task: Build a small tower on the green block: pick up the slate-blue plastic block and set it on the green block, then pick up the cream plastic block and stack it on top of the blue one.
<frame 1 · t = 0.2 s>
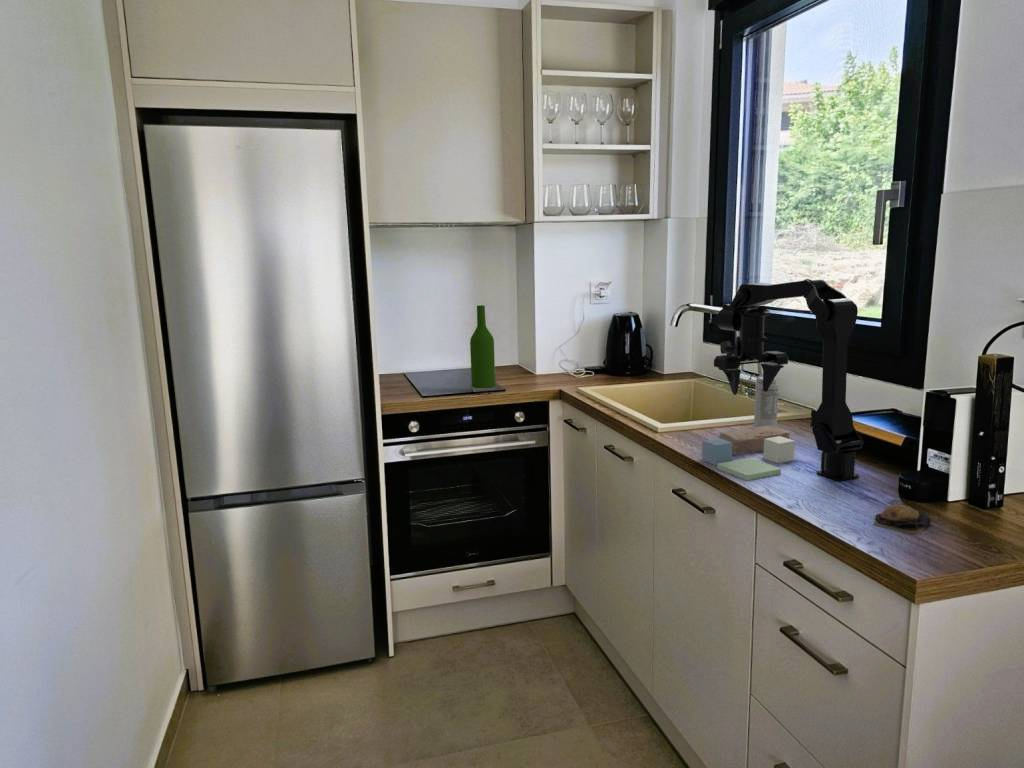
hand: (750, 393, 182), 14 cm above the worktop, tool pointing down, fingers open, 9 cm apart
cream block: (778, 459, 173), on the worktop
wine bottle: (483, 392, 265), on the worktop
blue block: (716, 461, 173), on the worktop
green block: (748, 471, 165), on the worktop
energy drink can: (764, 430, 201), on the worktop
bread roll: (902, 525, 133), on the worktop
brick: (753, 449, 184), on the worktop
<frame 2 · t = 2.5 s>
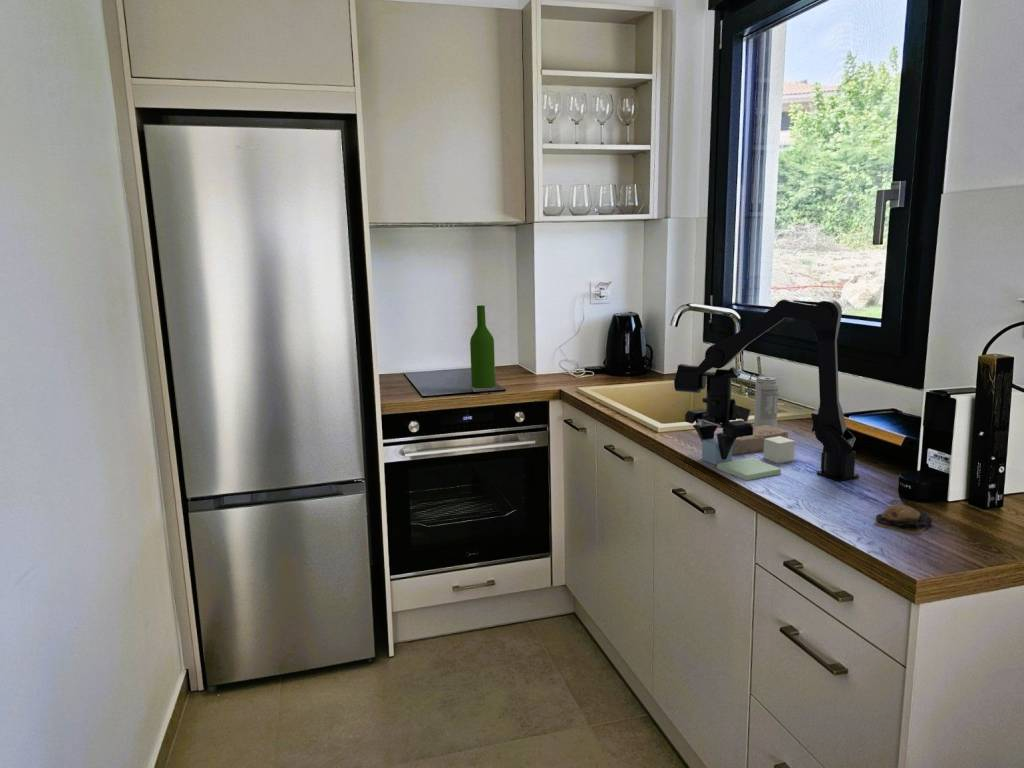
hand: (716, 456, 173), 1 cm above the worktop, tool pointing down, fingers closed on blue block, 5 cm apart
blue block: (716, 460, 173), on the worktop, touching gripper
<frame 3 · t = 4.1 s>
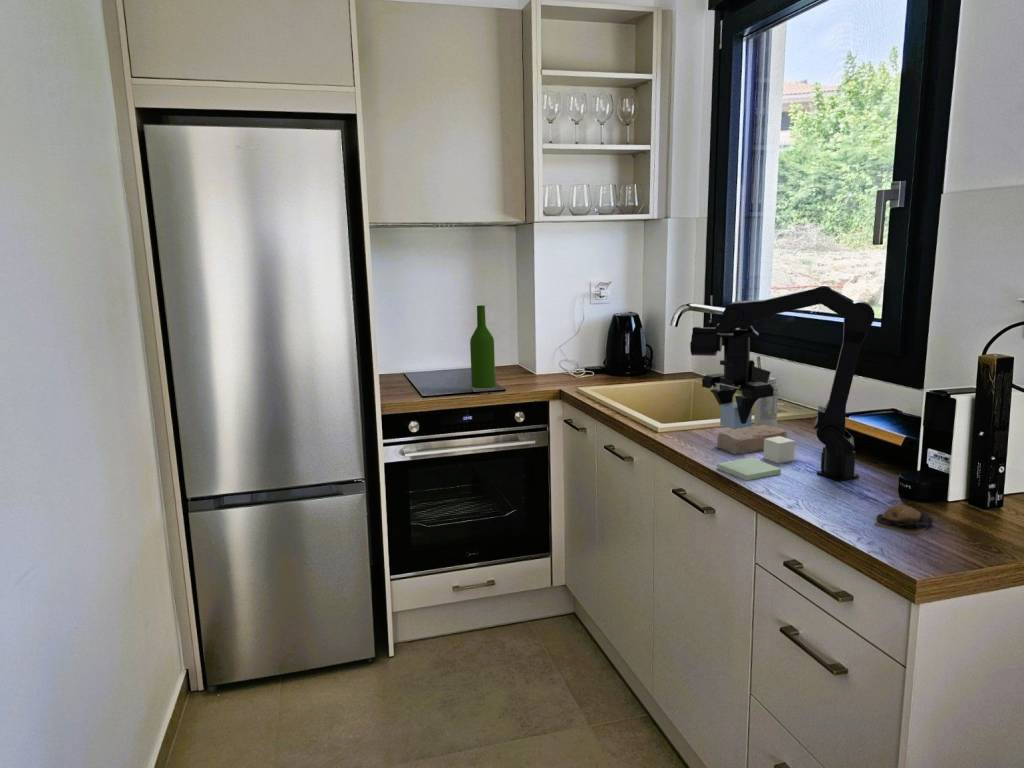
hand: (736, 421, 167), 11 cm above the worktop, tool pointing down, fingers closed on blue block, 5 cm apart
blue block: (735, 425, 167), point 10 cm above the worktop, touching gripper
everything else where it was.
when the fingers open (3 cm above the worktop, at t = 6.0 s): blue block drops 1 cm, resting on green block.
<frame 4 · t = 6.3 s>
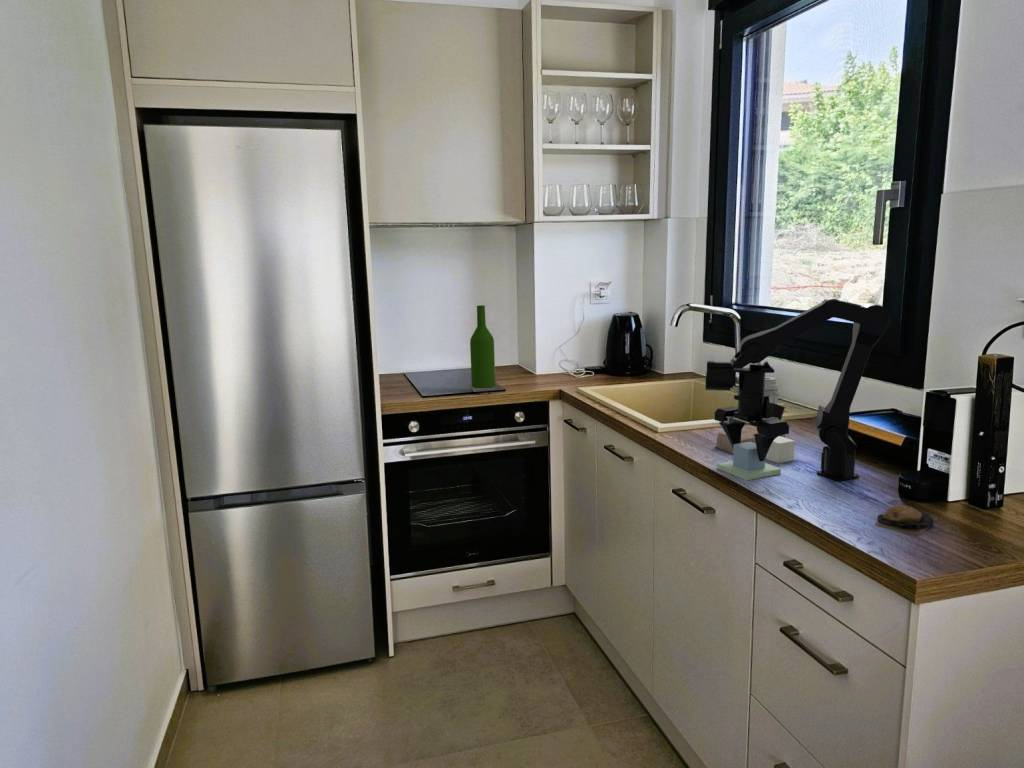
hand: (749, 456, 164), 3 cm above the worktop, tool pointing down, fingers open, 8 cm apart
blue block: (748, 466, 164), point 1 cm above the worktop, touching green block
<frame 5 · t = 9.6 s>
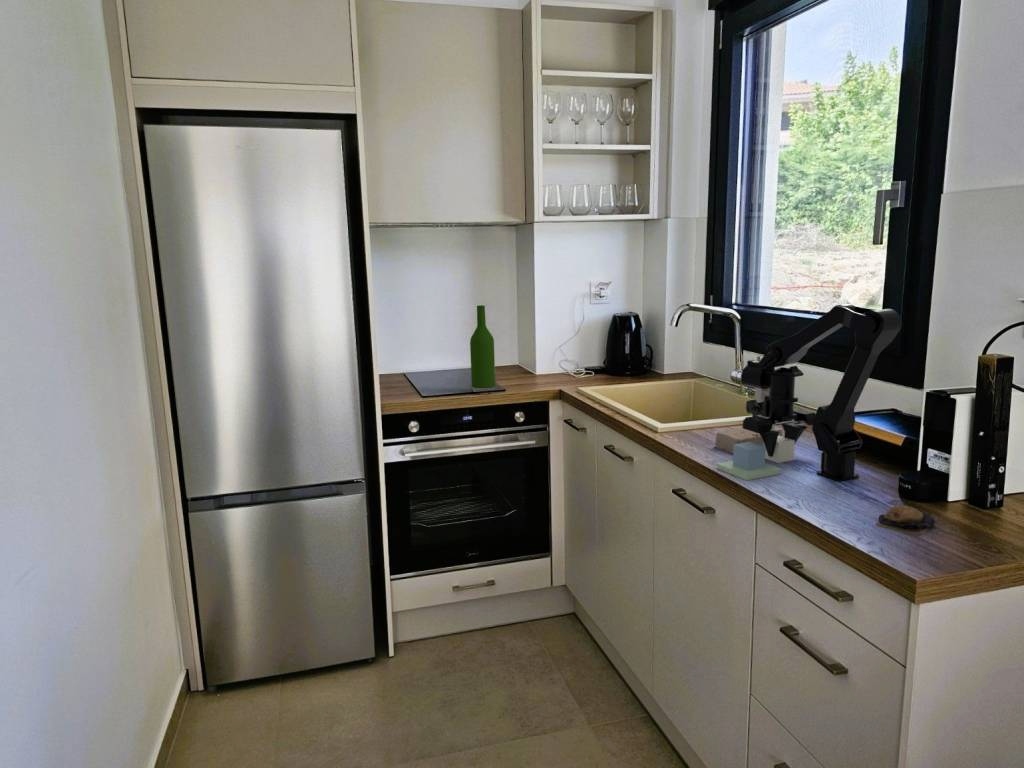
hand: (778, 454, 173), 1 cm above the worktop, tool pointing down, fingers closed on cream block, 5 cm apart
cream block: (778, 458, 173), on the worktop, touching gripper
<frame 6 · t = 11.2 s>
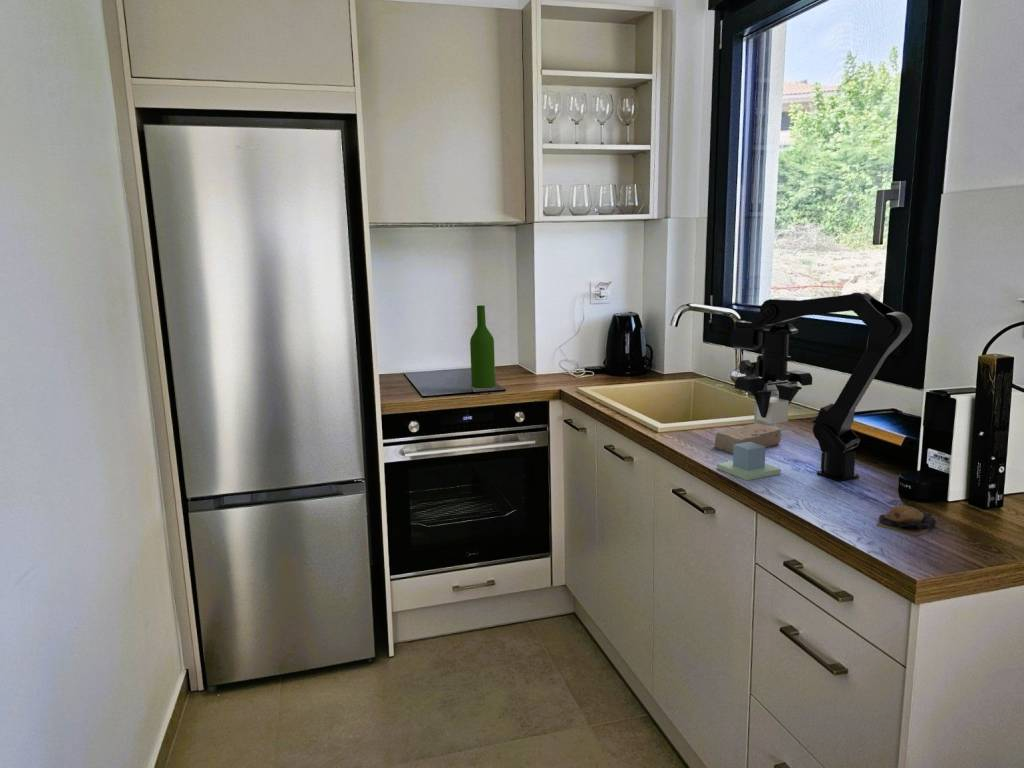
hand: (772, 416, 169), 11 cm above the worktop, tool pointing down, fingers closed on cream block, 5 cm apart
cream block: (772, 420, 169), point 10 cm above the worktop, touching gripper
when the fingers open (8 cm above the worktop, at t = 13.0 s): cream block drops 1 cm, resting on blue block.
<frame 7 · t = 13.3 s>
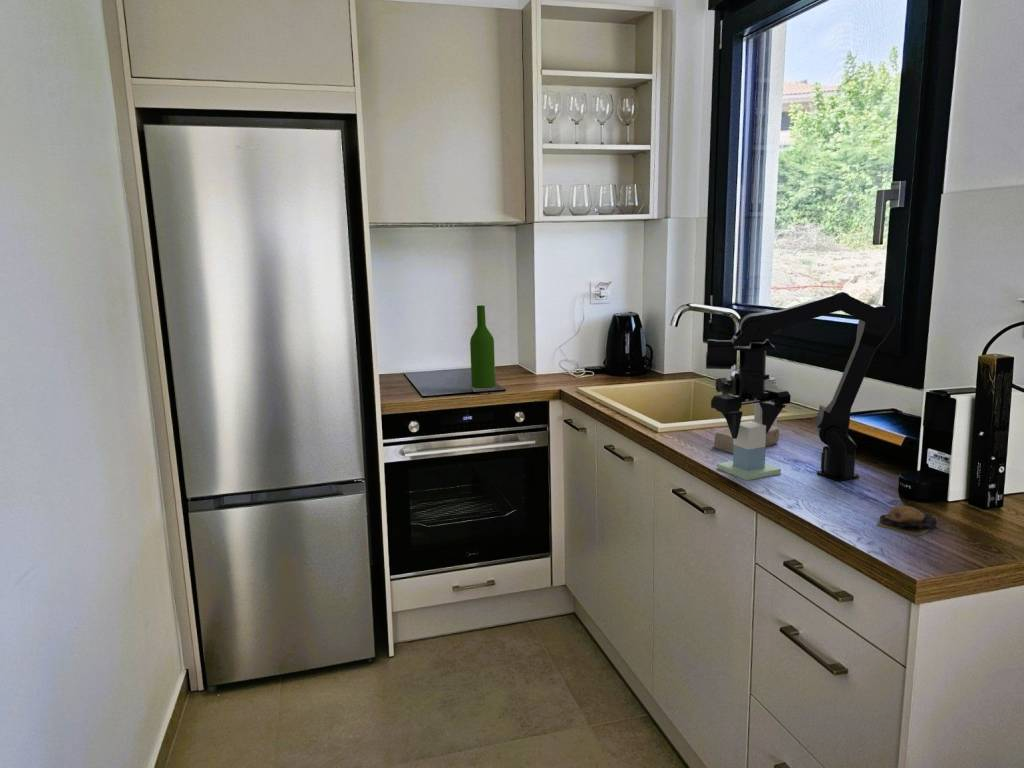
hand: (749, 435, 163), 8 cm above the worktop, tool pointing down, fingers open, 9 cm apart
cream block: (749, 445, 164), point 6 cm above the worktop, touching blue block
blue block: (748, 466, 164), point 1 cm above the worktop, touching green block, cream block
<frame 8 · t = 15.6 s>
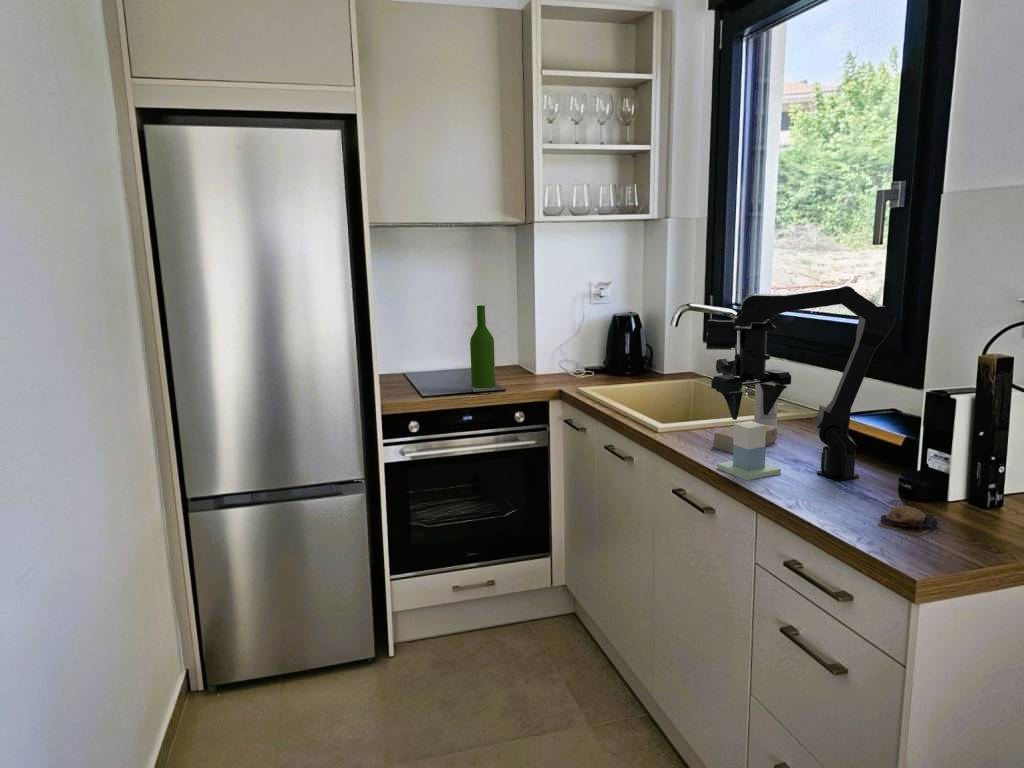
hand: (750, 417, 162), 13 cm above the worktop, tool pointing down, fingers open, 9 cm apart
at the end: blue block 0.1 cm off-centre on the green block, point 1.2 cm above the green block's base; cream block 0.1 cm off-centre on the blue block, point 5.0 cm above the blue block's base; cream block tilted 0° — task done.
